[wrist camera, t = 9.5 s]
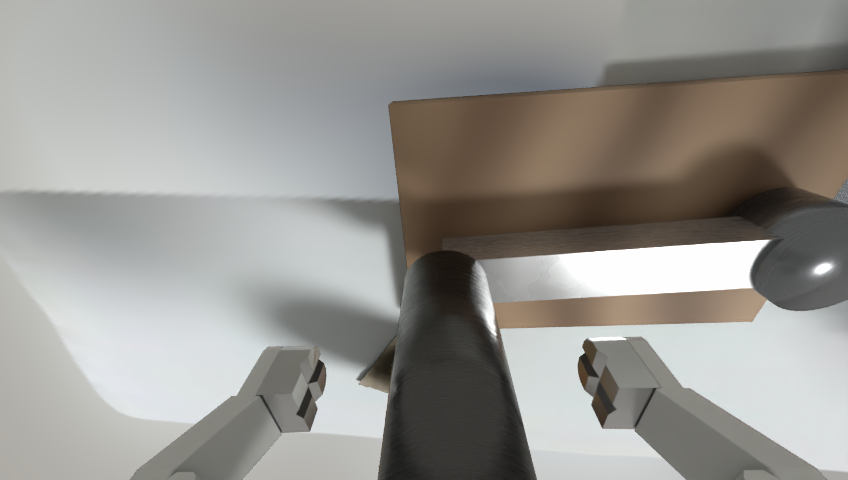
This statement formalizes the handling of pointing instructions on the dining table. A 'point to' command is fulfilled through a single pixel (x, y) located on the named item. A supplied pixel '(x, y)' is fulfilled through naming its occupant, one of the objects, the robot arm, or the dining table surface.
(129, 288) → the dining table surface
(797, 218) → the lever
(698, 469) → the robot arm
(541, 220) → the board
